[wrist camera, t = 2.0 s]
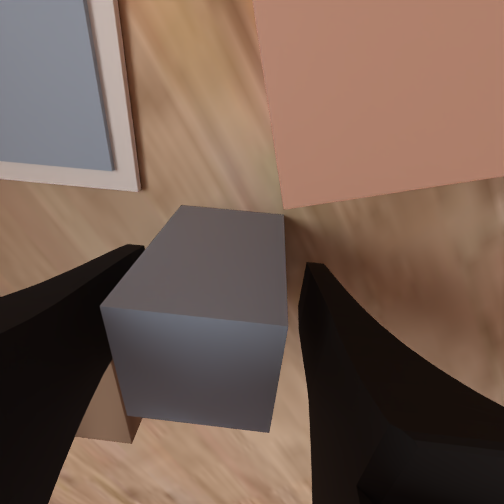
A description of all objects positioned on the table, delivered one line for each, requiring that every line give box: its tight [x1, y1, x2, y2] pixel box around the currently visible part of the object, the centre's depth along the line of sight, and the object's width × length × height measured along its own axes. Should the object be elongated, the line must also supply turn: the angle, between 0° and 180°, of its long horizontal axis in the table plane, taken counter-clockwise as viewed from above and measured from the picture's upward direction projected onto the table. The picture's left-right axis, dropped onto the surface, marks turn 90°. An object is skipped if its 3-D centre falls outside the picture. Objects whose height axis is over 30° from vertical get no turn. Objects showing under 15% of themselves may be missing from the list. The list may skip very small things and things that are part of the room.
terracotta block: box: [252, 0, 504, 209], centre depth 6 cm, size 4×4×6 cm
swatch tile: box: [0, 0, 141, 192], centre depth 9 cm, size 7×7×1 cm
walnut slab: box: [75, 359, 142, 444], centre depth 16 cm, size 8×8×2 cm
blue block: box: [100, 205, 288, 433], centre depth 10 cm, size 4×4×6 cm
